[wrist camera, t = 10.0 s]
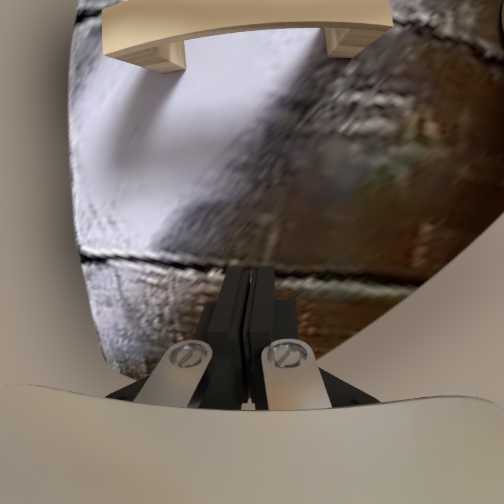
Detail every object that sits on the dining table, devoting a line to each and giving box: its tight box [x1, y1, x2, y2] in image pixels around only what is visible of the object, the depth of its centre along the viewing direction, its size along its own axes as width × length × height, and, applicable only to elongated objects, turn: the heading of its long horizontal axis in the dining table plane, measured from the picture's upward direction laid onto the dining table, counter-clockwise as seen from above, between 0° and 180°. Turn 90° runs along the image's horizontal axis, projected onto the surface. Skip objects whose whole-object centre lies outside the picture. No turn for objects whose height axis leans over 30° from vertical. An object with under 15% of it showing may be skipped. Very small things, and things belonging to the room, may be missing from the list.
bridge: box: [102, 0, 393, 74], centre depth 16 cm, size 3×15×10 cm, turn 95°
